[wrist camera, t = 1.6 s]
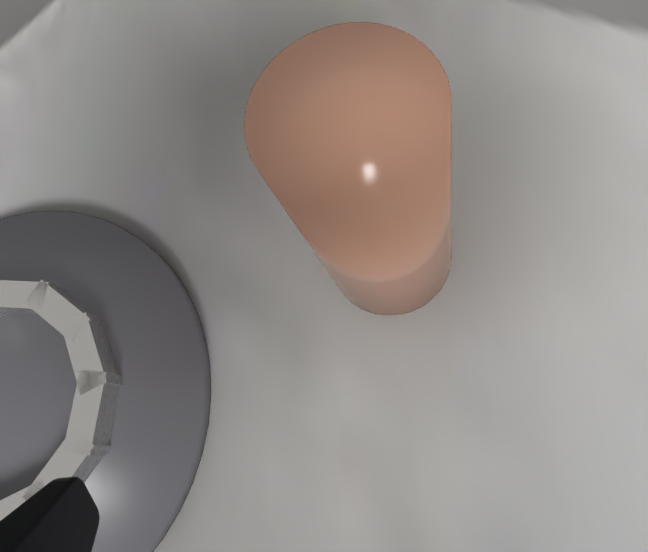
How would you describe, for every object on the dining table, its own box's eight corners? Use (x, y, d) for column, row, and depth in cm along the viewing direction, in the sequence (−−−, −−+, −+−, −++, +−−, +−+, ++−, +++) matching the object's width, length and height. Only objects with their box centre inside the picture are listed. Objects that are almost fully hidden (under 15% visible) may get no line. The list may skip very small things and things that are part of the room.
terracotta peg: (475, 237, 23) (493, 70, 13) (407, 338, 23) (371, 246, 13) (374, 182, 25) (320, -6, 15) (308, 275, 25) (205, 147, 14)
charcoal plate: (294, 349, 24) (289, 346, 23) (16, 748, 21) (1, 759, 21) (23, 157, 30) (11, 149, 29) (-216, 454, 27) (-235, 454, 27)
